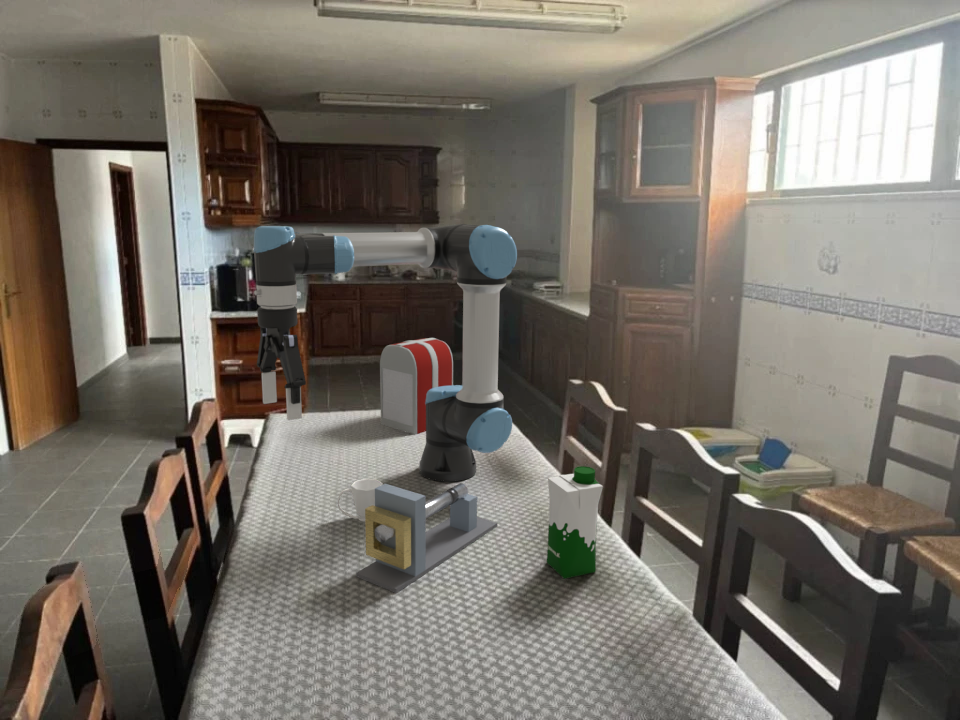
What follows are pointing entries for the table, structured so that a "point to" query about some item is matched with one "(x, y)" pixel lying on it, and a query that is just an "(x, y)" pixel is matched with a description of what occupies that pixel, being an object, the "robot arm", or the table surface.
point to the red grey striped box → (412, 381)
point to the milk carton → (573, 522)
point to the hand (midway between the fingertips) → (281, 410)
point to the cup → (362, 496)
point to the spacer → (403, 536)
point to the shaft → (428, 508)
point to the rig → (424, 536)
